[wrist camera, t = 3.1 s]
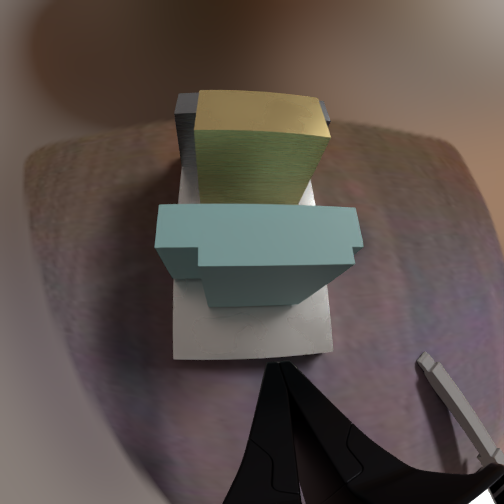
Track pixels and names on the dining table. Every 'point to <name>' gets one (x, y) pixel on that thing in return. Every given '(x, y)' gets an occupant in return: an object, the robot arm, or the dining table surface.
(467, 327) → the dining table surface
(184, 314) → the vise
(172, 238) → the block
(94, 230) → the dining table surface
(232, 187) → the brass block
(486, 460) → the grey long thin bar
